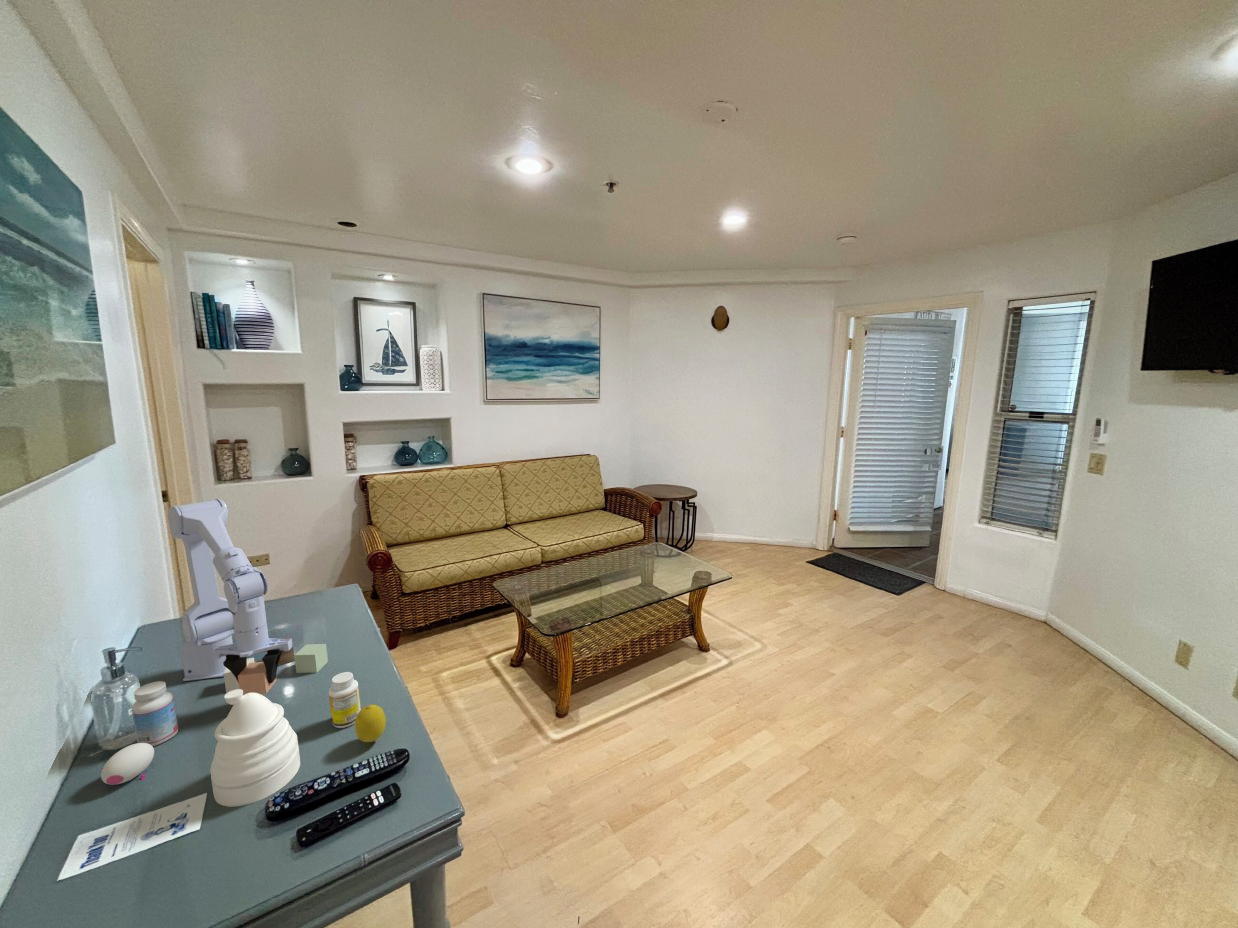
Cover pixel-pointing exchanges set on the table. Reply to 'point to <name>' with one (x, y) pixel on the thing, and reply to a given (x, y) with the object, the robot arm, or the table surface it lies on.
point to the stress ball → (127, 763)
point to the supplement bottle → (344, 700)
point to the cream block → (233, 678)
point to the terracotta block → (254, 679)
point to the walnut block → (287, 656)
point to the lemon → (370, 723)
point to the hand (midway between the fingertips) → (258, 682)
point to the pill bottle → (154, 714)
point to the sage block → (311, 658)
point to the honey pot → (252, 751)
